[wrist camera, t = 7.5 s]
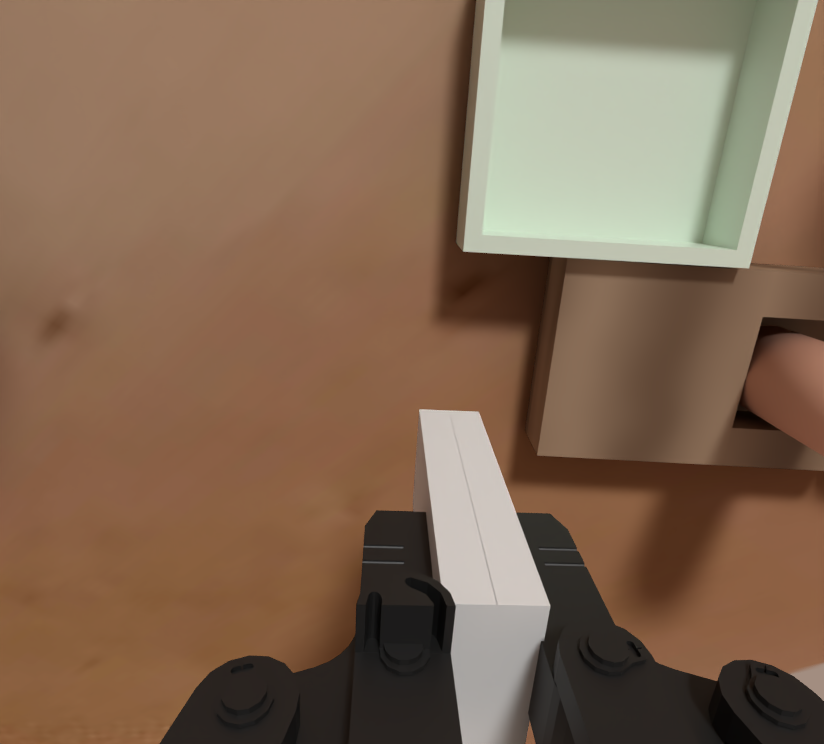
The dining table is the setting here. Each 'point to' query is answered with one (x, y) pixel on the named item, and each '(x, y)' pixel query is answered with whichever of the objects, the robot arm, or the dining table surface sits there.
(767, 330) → the pink tapered rounded cylinder
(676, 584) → the dining table surface
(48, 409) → the dining table surface
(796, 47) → the tray
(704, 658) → the dining table surface
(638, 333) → the wooden block with recess
